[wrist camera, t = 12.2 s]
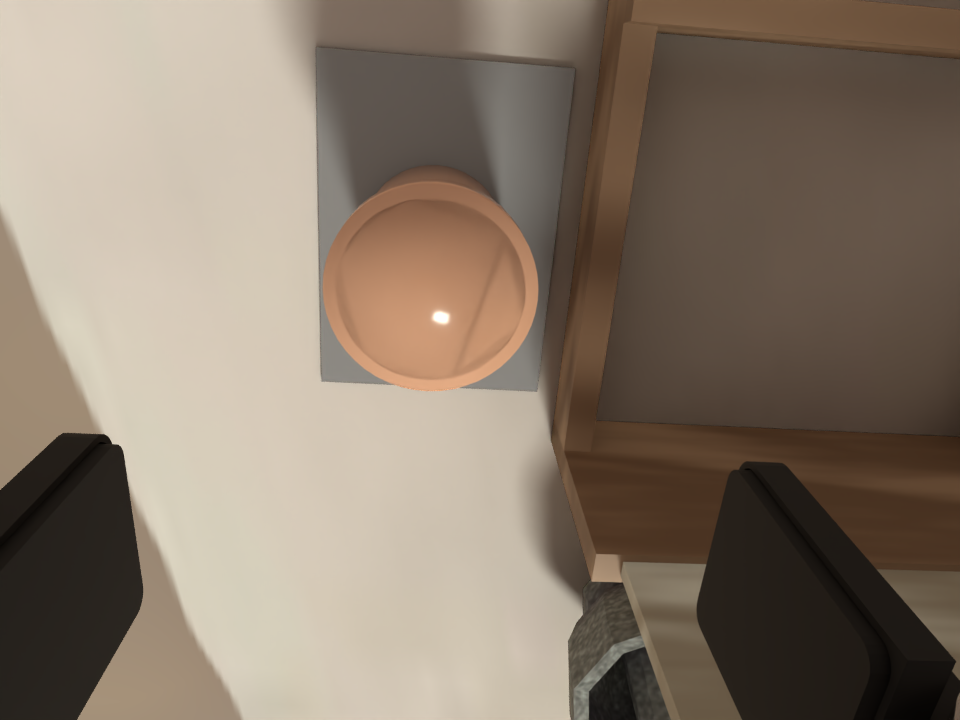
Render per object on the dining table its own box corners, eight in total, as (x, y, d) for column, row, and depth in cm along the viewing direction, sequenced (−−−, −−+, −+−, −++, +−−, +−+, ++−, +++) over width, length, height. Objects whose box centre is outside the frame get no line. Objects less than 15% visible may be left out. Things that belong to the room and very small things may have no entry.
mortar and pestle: (550, 531, 35) (597, 739, 24) (728, 516, 36) (855, 717, 25) (554, 688, 40) (596, 925, 29) (713, 674, 40) (815, 905, 29)
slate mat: (536, 389, 32) (537, 391, 32) (322, 379, 31) (321, 381, 31) (574, 68, 27) (575, 68, 27) (316, 47, 26) (316, 47, 26)
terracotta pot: (506, 317, 30) (527, 395, 23) (352, 309, 30) (324, 386, 23) (521, 161, 28) (550, 192, 20) (353, 148, 27) (321, 176, 20)
